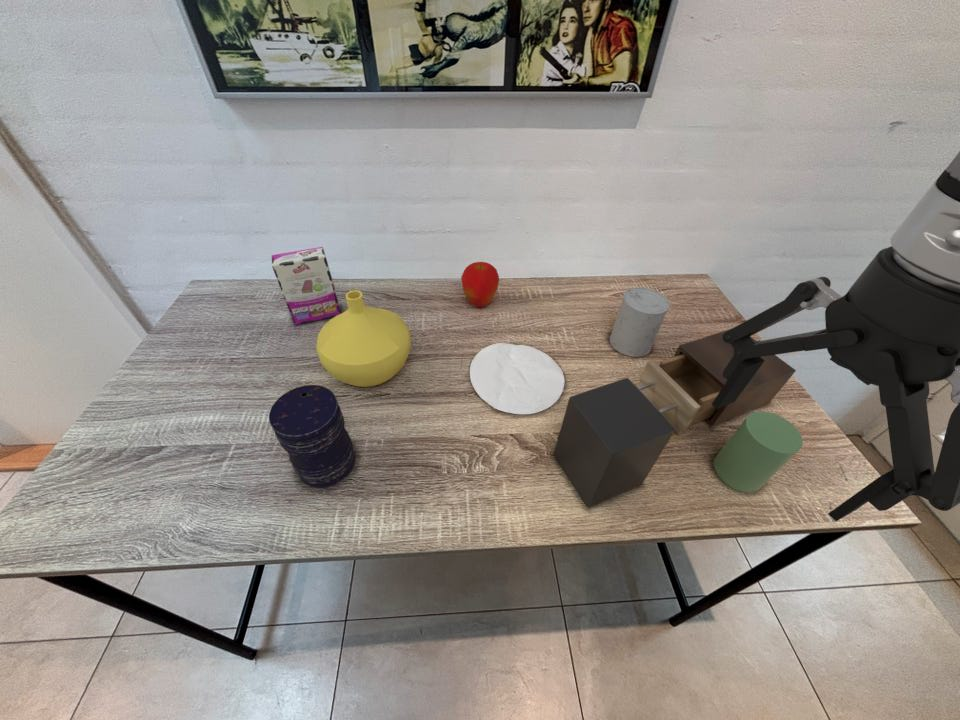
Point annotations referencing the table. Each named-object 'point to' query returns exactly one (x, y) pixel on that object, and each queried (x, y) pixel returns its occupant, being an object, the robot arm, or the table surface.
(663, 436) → the riser
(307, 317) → the candy bar box
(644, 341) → the grey concrete cylinder
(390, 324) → the vase
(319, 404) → the dark blue cylinder
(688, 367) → the drawer
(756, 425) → the tin
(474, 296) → the apple
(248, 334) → the table surface
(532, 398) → the plaque
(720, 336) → the cabinet
